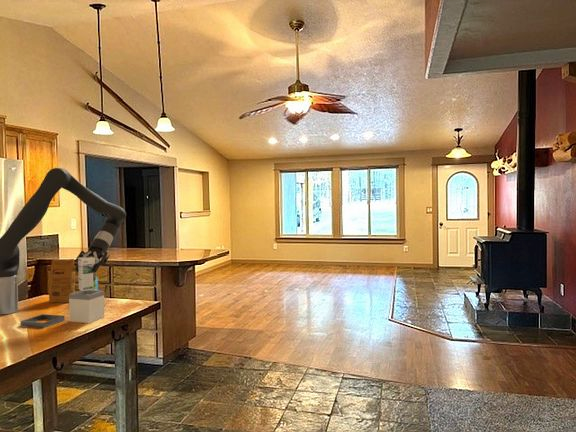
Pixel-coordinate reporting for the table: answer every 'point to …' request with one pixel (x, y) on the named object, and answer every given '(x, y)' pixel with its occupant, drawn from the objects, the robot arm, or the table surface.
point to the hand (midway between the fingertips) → (84, 271)
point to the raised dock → (86, 306)
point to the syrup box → (86, 273)
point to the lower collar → (52, 320)
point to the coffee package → (61, 280)
